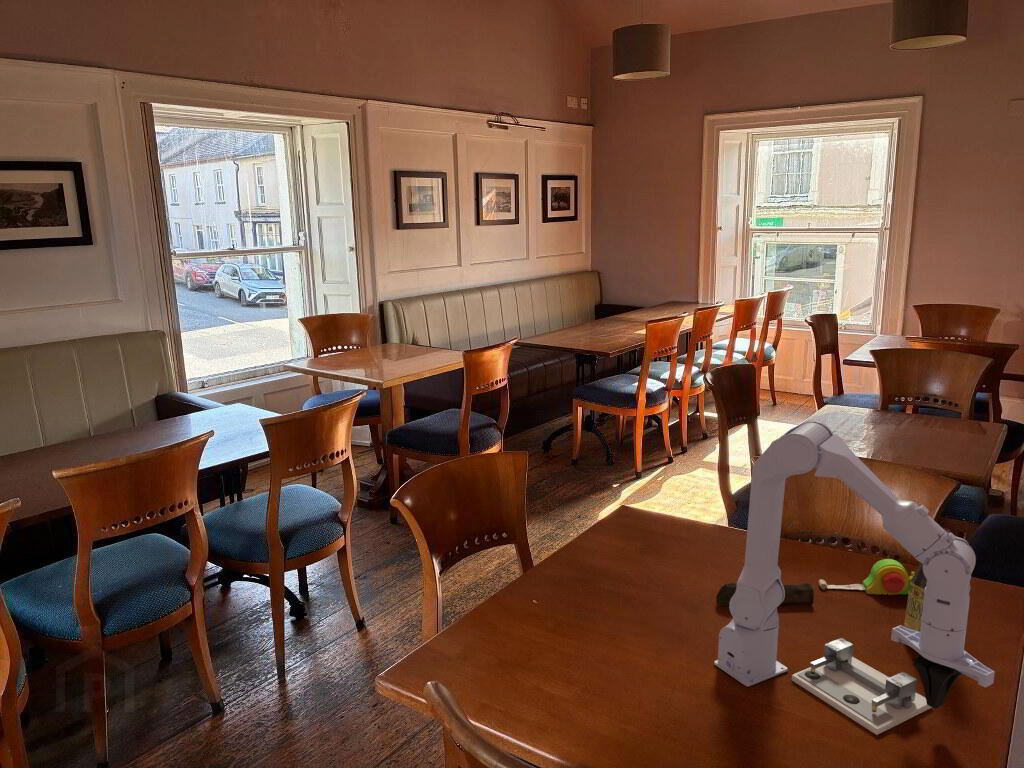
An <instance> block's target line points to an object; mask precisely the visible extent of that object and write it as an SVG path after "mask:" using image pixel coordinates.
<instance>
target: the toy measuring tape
mask: <svg viewBox="0 0 1024 768" xmlns="http://www.w3.org/2000/svg"><path fill="white" fill-rule="evenodd" d="M915 572H916V571H911V572H910V574H911V575H910V576H909V573H908V572H907V570H906V568H905V567H904V566H903V565H902V563H900V562H899V561H898V560H895V559H892V558H883V559H881V560H878V561H876V562H875V563H874V564H873V566H871V570H870V573H869V574H868V577H866V578H865V579H864V580H862V582H861V584H860V583H854V584H846V585H845V584H843V585H842V584H841V585H835V584H827V581H826V580H824V579H822V578H821V579H819V580H818V585H819V587H820V589H822V590H826V589H828V590H833V589H835V590H856V591H857V590H858V591H865V594H868V595H881V594H883V596H884V595H885V596H896V595H906V594H909V587H910V581H911V579H912V578H913V576H914V574H915ZM887 594H888V595H887Z"/></svg>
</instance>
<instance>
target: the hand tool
mask: <svg viewBox="0 0 1024 768" xmlns="http://www.w3.org/2000/svg"><path fill="white" fill-rule="evenodd" d="M782 585H783V587H784V590H785V597H784V600H783V602H782V603H781V604H801V603H802V604H803V603H806V604H808V605H809V606H812V605H813V604H814V600H815V599H814V598H815V591H814V588H813V587H812V585H811V583H808V582H804V583H800V584H782ZM736 587H737V582H736V583H735V582H732V583H731V582H730V583H725V584H724V585H722V586H721V587H720V589H719V590H718V592H717V594H716V600H715V601H716V602H715V603H716V605H718V606H721V607H728V608H729V603H730V600H731V598H732V596H733V595H734V594H735V592H736Z"/></svg>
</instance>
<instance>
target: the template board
mask: <svg viewBox="0 0 1024 768" xmlns="http://www.w3.org/2000/svg"><path fill="white" fill-rule="evenodd" d="M810 671H811V667H810V666H809V667H808V668H805V669H803V670H800V671H798V672H795V673H794V674H792V675H791V681H792V682H794V683H795V684H796V685H799V686H800V687H802V688H803V689H805V690H806V691H807V692H809V693H811V694H813V695H814V696H816V697H817V698H819V699H820V700H822V701H823V702H825V703H826V704H828V705H829V706H831V707H833V708H834V709H835V710H837V711H839V712H840V713H842V714H843V715H845V716H846V717H848V718H850V719H851V720H853V721H854V722H856V723H857V724H859V725H861V726H862V727H864V728H865V729H867V730H868V731H869V732H871V733H872V734H875V735H876V736H878V735H879V734H881V733H884V732H886V731H888V730H890V729H892V728H894V727H896V726H898V725H900V724H902V723H904V722H905V721H908V720H910V719H912V718H914V717H915V716H918V715H919V714H922V713H924V712H926V711H928V710H930V709H933V708H932V707H931V706H929V705H927V702H926V697H925V696H923V695H922V694H920V693H917V692H916V693H915V701H913V702H912V700H911V699H910V698H908V697H907V698H905V699H903V704H902V707H901V708H899V709H898V708H896V707H894V706H893V705H891V704H889V703H888V702H886V703H884V704H881V705H879V706H877V712H872V704H871V703H872V699H874V698H876V697H878V696H881V695H883V694H885V686H886V679H888V678H890V676H887V675H886V674H884V673H882V672H881V671H879V670H876V669H875V668H873V667H871V666H869V665H868V664H866V663H864V662H863V661H861V660H859V659H857V658H856V657H854V656H852V664H849V663H847V662H845V661H842V662H840V667H839V670H837V671H834V670H832V669H830V668H829V667H827V666H825V665H823V666H821V667H818V668H816V669H815V674H811V673H810Z"/></svg>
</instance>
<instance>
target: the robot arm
mask: <svg viewBox="0 0 1024 768" xmlns="http://www.w3.org/2000/svg"><path fill="white" fill-rule="evenodd" d="M814 469H816V471H815V473H814V477H818V478H833V479H834V478H835V479H838V480H840V481H841V482H842V483H843V484H844V485H845V486H846V487H848V488H849V489H850V490H851V491H853V492H854V493H855V494H856V495H857V496H859V497H860V498H861V499H862V500H863V501H864V502H865V503H866V504H867V505H869V507H870V506H871V508H873V510H874V511H876V512H878V514H880V517H881V520H882V528H883V529H884V530H885V531H886V532H887V533H888V534H889V535H890V536H891V537H892V538H893V539H894V540H895V541H896V542H897V543H899V544H900V545H901V546H902V547H903V548H904V549H905V550H906V551H907V552H908V553H909V554H910V555H911V556H912V557H914V559H916V561H918V562H919V563H922V564H924V565H923V572H924V575H925V577H926V578H927V585H926V587H925V590H924V601H923V611H922V620H921V630H920V632H917V631H914V630H911V629H908V628H905V627H904V625H901V624H900V625H897V626H896V627H892V628H891V637H890V640H891V641H893V642H895V643H902V644H904V645H905V646H909V647H910V648H912V649H913V650H914V651H916V652H917V653H918V656H917V657H915V658H914V659H913V662H912V664H913V666H914V667H915V669H916V671H917V673H918V676H919V677H920V680H921V684H922V686H923V692H924V695H925V696H924V697H925V698H926V702H927V705H929V706H931V707H932V708H931V709H934V710H936V709H938V708H941V707H942V706H944V703H945V701H946V699H947V696H948V694H949V692H950V690H951V688H952V687H953V685H954V684H955V682H956V681H957V680H958V679H959V677H960V676H961V675H965V676H967V677H968V678H971V679H973V680H975V681H976V682H977V684H978V686H981V687H984V688H987V687H989V686H991V685H993V684H994V681H995V673H996V672H995V670H993V669H991V668H989V667H987V666H986V665H984V664H983V663H982V662H980V661H979V660H978V659H976V658H975V657H974V656H972V655H971V654H970V653H968V652H967V651H966V650H965V642H966V634H967V626H968V617H969V608H970V601H971V597H970V591H971V583H970V582H971V579H972V573H973V571H974V569H975V566H976V561H977V558H976V557H977V555H976V554H975V550H974V549H973V548H972V546H971V545H969V542H968V541H967V540H966V539H964V538H961V537H958V536H956V535H955V534H953V532H947V531H946V530H945V529H944V528H943V527H942V526H941V525H940V524H939V523H938V522H936V521H935V520H934V519H933V518H932V517H931V516H930V515H928V514H929V512H930V510H929V509H928V508H927V507H926V506H925V505H924V504H921V505H920V506H919V505H918V504H917V503H916V502H914V501H913V500H908V499H907V500H905V499H900V498H899V497H897V496H896V495H895V494H894V493H893V491H891V490H890V489H889V487H888V486H887V485H886V484H885V483H884V482H882V481H881V479H879V477H877V475H875V473H874V472H872V470H871V469H870V468H869V467H868V466H867V465H866V464H865V463H864V462H863V461H862V460H861V459H860V458H859V457H858V456H857V455H856V454H855V453H854V452H853V451H852V450H851V449H850V447H849V445H848V444H847V443H846V441H845V440H844V439H843V438H842V437H841V436H839V435H837V434H836V433H833V432H832V430H831V428H829V426H828V425H826V424H824V423H823V422H820V421H817V420H808V421H804V422H802V423H800V424H798V425H797V426H794V427H792V428H791V429H789V430H788V431H786V432H785V433H784V434H783V435H781V436H779V438H777V439H775V440H773V441H772V442H771V443H770V444H769V446H768V447H767V448H766V450H764V451H763V453H762V454H761V455H760V456H758V458H757V459H756V460H755V461H754V463H753V465H752V469H751V483H750V494H749V506H748V517H747V518H748V519H747V528H746V529H747V531H746V543H745V555H744V564H743V565H744V566H743V568H742V569H741V570H742V571H741V572H740V575H739V577H738V578H737V579H738V580H737V582H736V583H737V587H736V592H735V594H734V595H733V596H732V598H731V600H730V603H729V607H728V608H729V612H730V614H731V616H732V619H731V621H730V622H729V623H728V624H727V625H725V626H723V627H722V628H721V629H720V631H719V634H718V647H717V648H718V649H717V652H718V653H717V660H714V663H713V664H714V665H715V666H716V667H718V669H720V670H722V671H723V672H725V673H726V674H728V675H729V676H731V677H732V678H734V679H735V681H738V682H739V683H741V684H742V685H744V686H745V687H751V686H754V685H756V684H759V683H761V682H764V681H766V680H768V679H770V678H773V677H776V676H778V675H780V674H783V673H785V672H787V671H788V667H787V666H785V665H784V664H782V662H780V661H778V660H777V655H778V641H779V640H778V639H779V625H780V623H779V622H780V617H779V614H778V607H779V606H780V605H782V604H783V603H782V602H783V600H784V597H785V590H784V587H783V585H784V584H783V582H782V579H781V578H782V570H781V569H780V567H779V565H778V563H779V552H780V541H781V532H782V531H781V529H782V521H783V509H784V497H785V490H786V489H785V488H786V487H785V486H786V479H788V478H790V477H791V476H795V475H796V476H797V475H802V474H803V475H804V474H806V473H809V472H810V471H812V470H814Z"/></svg>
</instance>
